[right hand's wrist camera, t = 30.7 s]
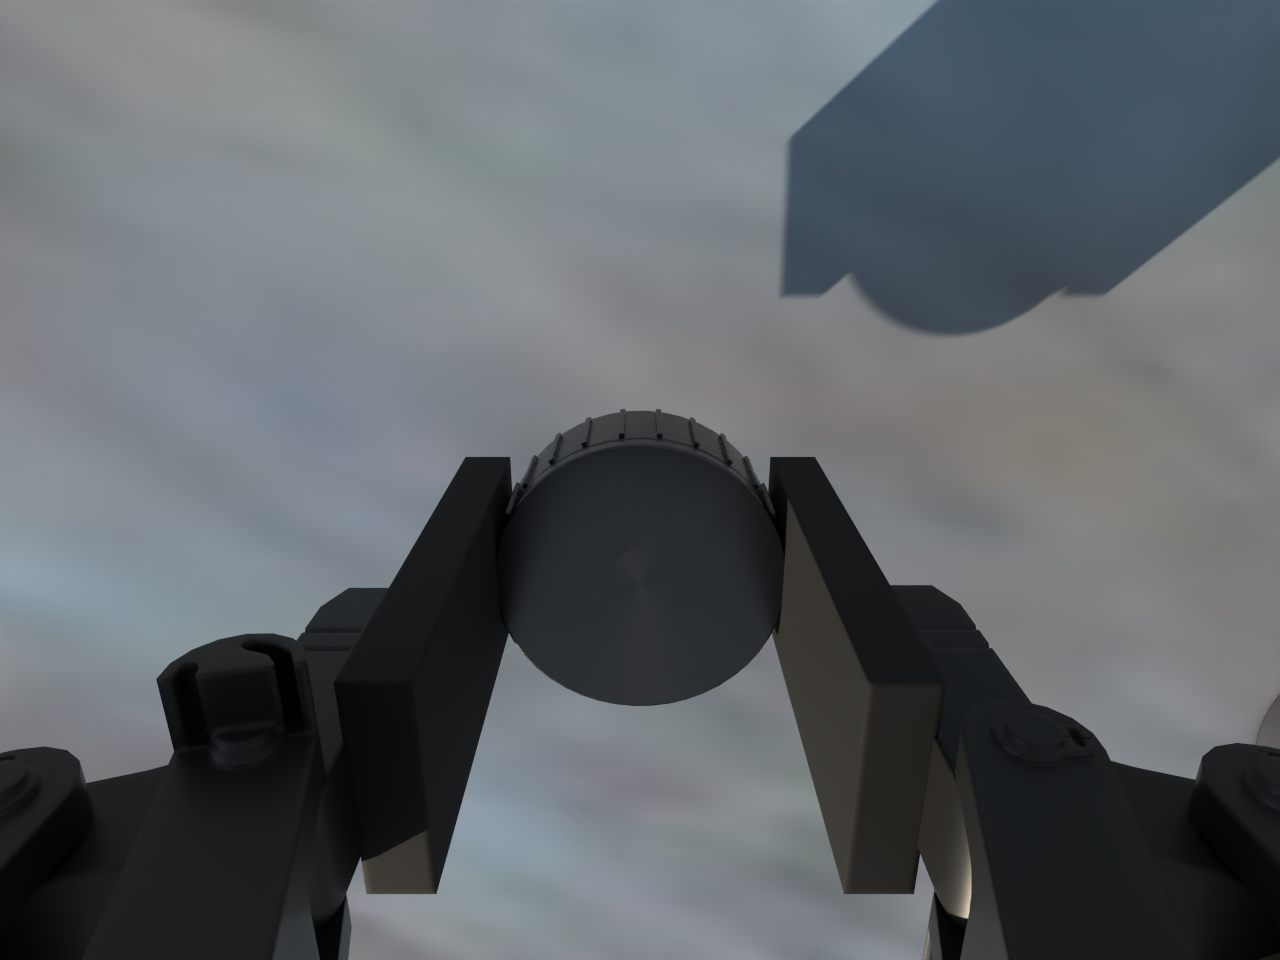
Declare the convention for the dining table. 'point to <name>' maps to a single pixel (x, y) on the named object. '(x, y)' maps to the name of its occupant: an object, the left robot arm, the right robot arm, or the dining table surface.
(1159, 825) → the right robot arm
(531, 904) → the dining table surface
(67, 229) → the dining table surface
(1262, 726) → the bottle
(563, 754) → the dining table surface
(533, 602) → the cap
